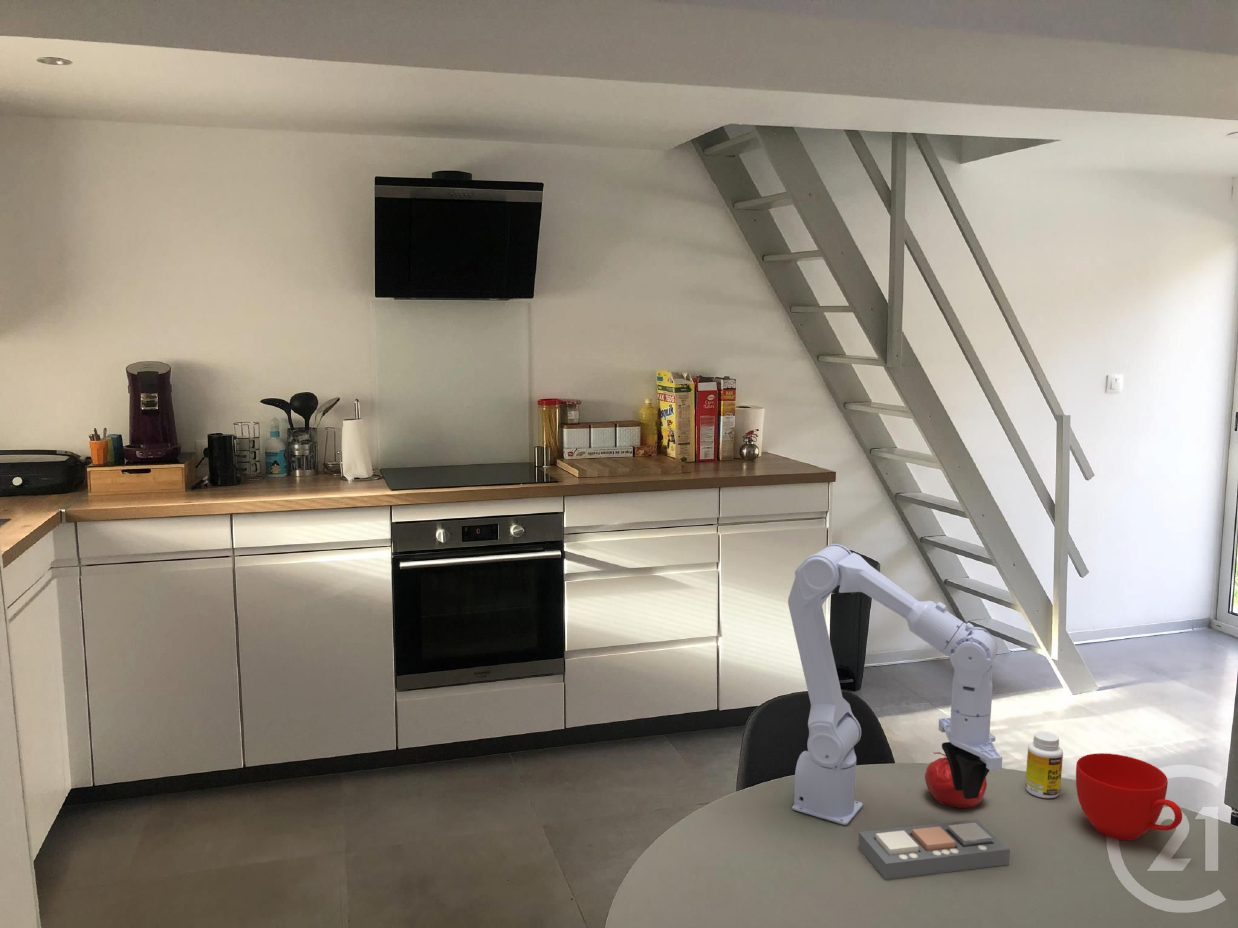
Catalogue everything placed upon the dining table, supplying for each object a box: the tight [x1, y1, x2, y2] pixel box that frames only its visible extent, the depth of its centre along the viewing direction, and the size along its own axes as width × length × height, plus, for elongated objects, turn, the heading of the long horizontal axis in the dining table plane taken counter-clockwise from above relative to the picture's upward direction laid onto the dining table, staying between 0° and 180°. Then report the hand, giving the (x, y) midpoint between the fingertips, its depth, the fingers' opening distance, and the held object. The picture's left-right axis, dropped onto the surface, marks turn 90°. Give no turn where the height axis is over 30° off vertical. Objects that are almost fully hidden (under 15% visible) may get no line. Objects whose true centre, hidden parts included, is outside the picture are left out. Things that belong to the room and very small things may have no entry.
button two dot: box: [876, 830, 919, 856], centre depth 148 cm, size 5×5×2 cm
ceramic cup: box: [1075, 752, 1183, 841], centre depth 155 cm, size 13×17×10 cm
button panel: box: [857, 818, 1011, 881], centre depth 150 cm, size 20×9×3 cm, turn 102°
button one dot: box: [948, 823, 992, 847], centre depth 151 cm, size 5×5×2 cm
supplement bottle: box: [1024, 731, 1064, 799], centre depth 169 cm, size 6×6×10 cm
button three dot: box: [912, 826, 956, 851], centre depth 149 cm, size 5×5×2 cm
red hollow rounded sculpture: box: [924, 751, 988, 809], centre depth 167 cm, size 10×10×9 cm
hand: (966, 793), depth 152 cm, fingers open, 2 cm apart
